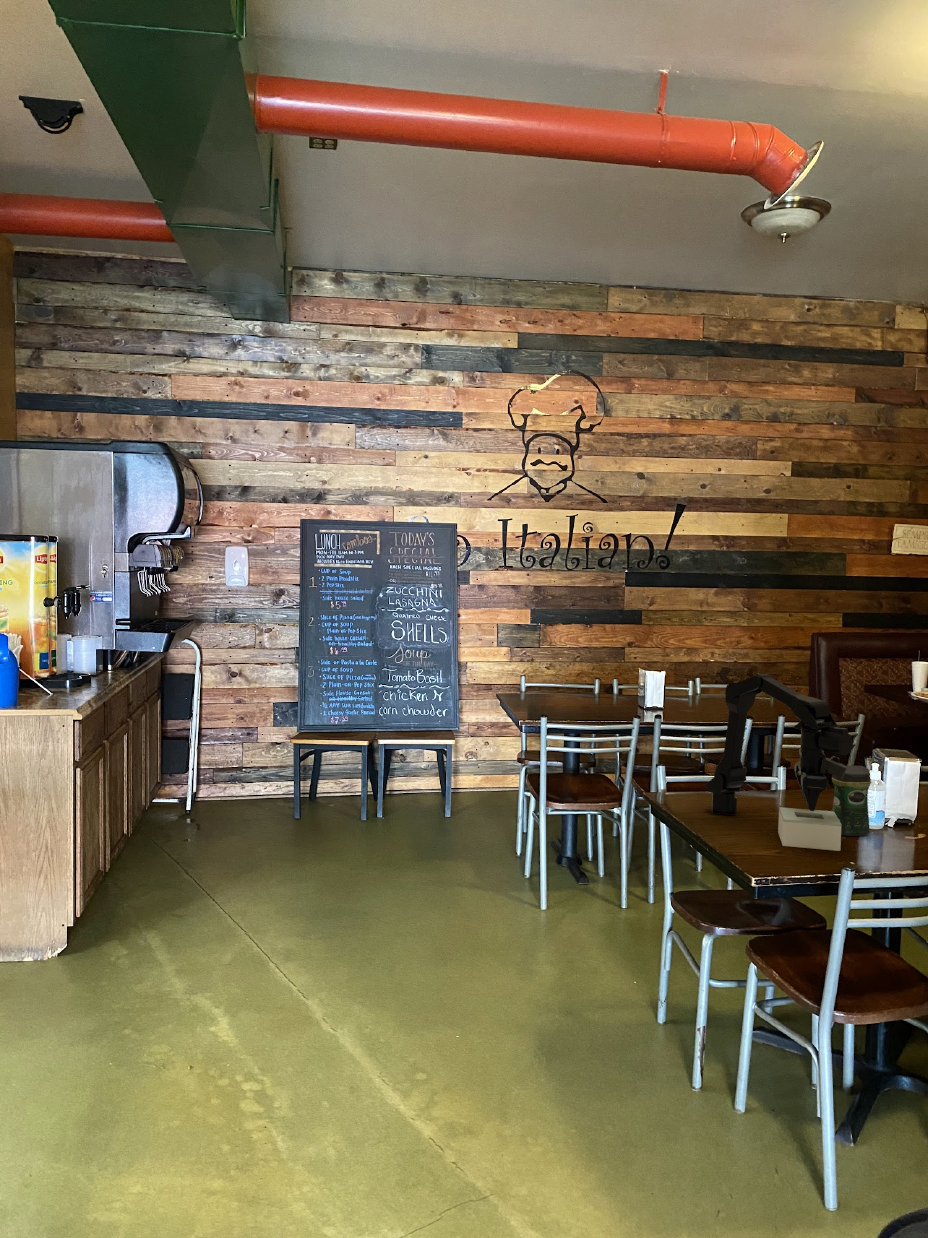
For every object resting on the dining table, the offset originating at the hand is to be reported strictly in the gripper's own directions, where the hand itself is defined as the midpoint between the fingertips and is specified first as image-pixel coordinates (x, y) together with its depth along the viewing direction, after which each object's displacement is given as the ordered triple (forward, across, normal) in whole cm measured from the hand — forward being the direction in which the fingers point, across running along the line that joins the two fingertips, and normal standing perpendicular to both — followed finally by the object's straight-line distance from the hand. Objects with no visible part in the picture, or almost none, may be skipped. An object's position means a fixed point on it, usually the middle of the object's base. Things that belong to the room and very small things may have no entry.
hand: (809, 806), depth 231 cm
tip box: (+10, 0, 0) cm, 10 cm away
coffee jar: (+10, +12, -12) cm, 20 cm away
